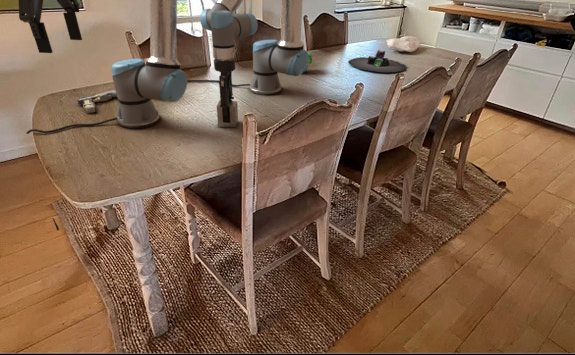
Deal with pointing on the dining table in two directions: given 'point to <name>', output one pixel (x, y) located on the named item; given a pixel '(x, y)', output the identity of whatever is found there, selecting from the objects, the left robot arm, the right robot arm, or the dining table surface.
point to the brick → (233, 115)
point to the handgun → (95, 100)
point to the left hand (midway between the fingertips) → (62, 45)
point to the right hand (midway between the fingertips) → (228, 118)
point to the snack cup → (308, 61)
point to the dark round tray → (377, 63)
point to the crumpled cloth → (404, 44)
